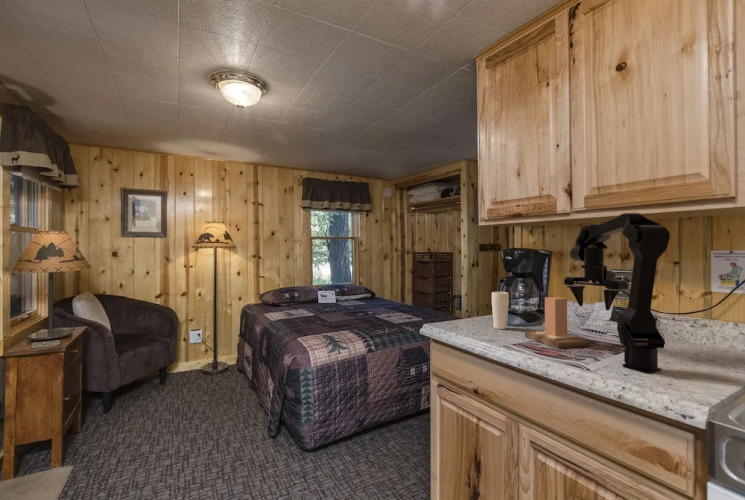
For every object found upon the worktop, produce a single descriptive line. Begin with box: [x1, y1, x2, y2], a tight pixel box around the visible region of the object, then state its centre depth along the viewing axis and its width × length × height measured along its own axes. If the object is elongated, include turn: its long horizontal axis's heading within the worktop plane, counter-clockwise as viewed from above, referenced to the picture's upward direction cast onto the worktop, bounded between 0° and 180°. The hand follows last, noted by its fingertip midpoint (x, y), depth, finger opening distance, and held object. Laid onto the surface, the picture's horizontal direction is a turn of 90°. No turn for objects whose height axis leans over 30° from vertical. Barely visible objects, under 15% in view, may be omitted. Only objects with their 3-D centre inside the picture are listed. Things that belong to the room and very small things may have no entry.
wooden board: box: [524, 329, 590, 349], centre depth 125 cm, size 16×13×2 cm
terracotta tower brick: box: [544, 296, 568, 336], centre depth 125 cm, size 5×5×13 cm
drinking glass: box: [491, 291, 510, 330], centre depth 146 cm, size 7×7×15 cm
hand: (593, 308), depth 118 cm, fingers open, 9 cm apart
